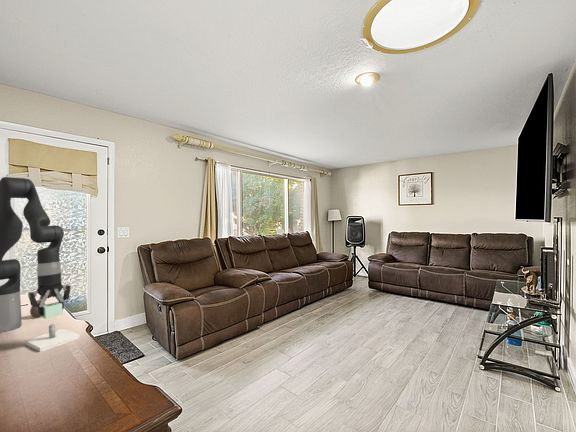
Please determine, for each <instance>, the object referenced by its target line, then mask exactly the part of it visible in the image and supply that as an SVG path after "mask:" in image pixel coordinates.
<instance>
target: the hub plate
mask: <svg viewBox="0 0 576 432" xmlns="http://www.w3.org/2000/svg"><path fill="white" fill-rule="evenodd" d="M79 339H80V334H79V333H76V332H72V331H70V330H68V329H65V328H60V329H57V330H56V325H55V324H54V323H53V324H49V326H48V332H47V333H44V334H42V335H38V336H34V337H32V338H28V339H25V340H24V344H25V345H26V346H28V347H30V348H32V349H34V350H36V351H38V352H40V353H42V352H44V351H47V350H49V349H52V348H56V347H58V346H61V345H65V344H68V343H70V342H73V341H77V340H79Z"/></svg>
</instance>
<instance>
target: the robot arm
mask: <svg viewBox="0 0 576 432" xmlns="http://www.w3.org/2000/svg"><path fill="white" fill-rule="evenodd" d="M12 199H27V203H26V205H25V206H24V208H23V209H22V210H23V212H22V213H23V214H22V215H23V217H24V218H25V220H26V222H27V223H28V226H29V232H30V233H29V234H30V235H29V236H30V240H31V241H32V242H33V243H36V244H45V243H50V244H49V245H48V246H47V247H44V248H40V249H38V250H37V252H36V254H37V255H36V256H37V260H36V261H37V267H36V274H37V276H36V277H37V278H36V279H37V289H36V290H34V291H32V292H30V291H29V292H28V293H27V297H28V299H29V303H30V307H32V306H33V307H38V314H39V315H40V316H44V307H43V305H44V303H45V302H46V301H47V299H50V298H56V299H57V303H61V304H62V310H64V308H65V304H64V303H65V301H66V300H67V301H68V300H69V299H70V294H71V293H70V292H71V288H72V287H71V285H69V284H66V285H63V283H62V267H61V266H62V265H61V259H60V251H61V245H62V242H63V238H64V229H63V228H62V227H61V226H60V225H50V224H51V218H50V217H49V216H48V214H47V212H46V211H45V210H44V209H45V208H44V206H42V202H41V200H40V197H39V194H38V191H37V189H36V186H35V184H34V182H33V180H31V179H30V178H26V177H25V178H24V177H23V178H22V177H12V176H11V177H9V176H7V177H6V176H3V177H1V179H0V281H3V280H7V281H6V282H5V283H4V284H1V285H0V333H2V332H8V331H12V330H16V329H18V328H20V327H22V303H21V263H20V261H19V260H18V259H16V258H13V259H12V258H11V259H4V256H5V255H6V254H7V253H8V251H9V250H11V249H12V248H13V247H14V246H15V245H16V244H17V243H18V242H19V240H20V239H21V238H22V234H23V228H24V225H23V221H22V219H20V217H19V215H17V213H16V212H15V210H14V209H13V207H12V204H11V200H12ZM62 290H63V296H62V294H61V291H62ZM37 294H38V295H39V296H40V297H39V299H38V300H39V302H38V304H37V302H36V301H37V299H36V297H37Z"/></svg>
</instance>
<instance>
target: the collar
mask: <svg viewBox="0 0 576 432" xmlns="http://www.w3.org/2000/svg"><path fill="white" fill-rule="evenodd" d="M43 307H44V316H40V317H39V318H41V319H42V318H43V319H44V320H45V319H51V318H53V317H58V316H61V315H63V309H62V304H61V303H58V301H57V302H51V303H48V304H46V305H43Z"/></svg>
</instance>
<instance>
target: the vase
mask: <svg viewBox="0 0 576 432" xmlns="http://www.w3.org/2000/svg"><path fill="white" fill-rule="evenodd" d="M36 302H37V304H38V302H39V299H38V300H37V299H36ZM44 305H47V304H46V303H45V302H44ZM29 311H30V312H29V314H30V316H31V317H32V318H34V319H39V318H41V317H40V315H39V314H38V307H33V306H30V310H29Z"/></svg>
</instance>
